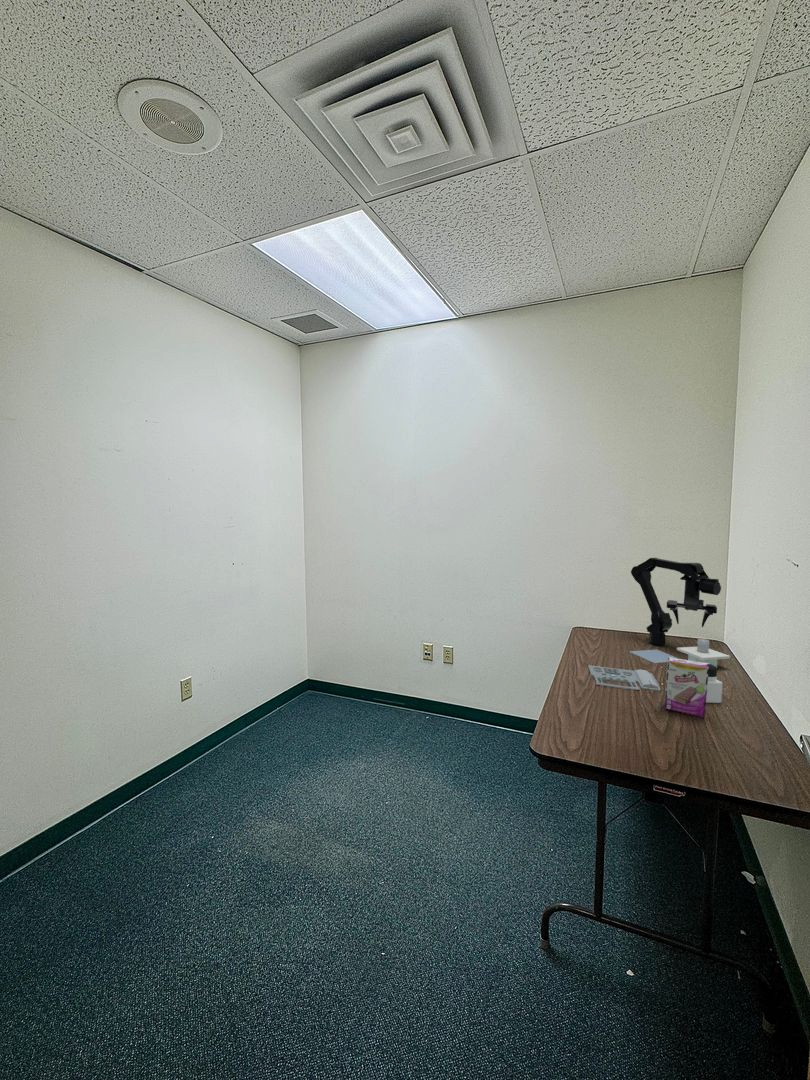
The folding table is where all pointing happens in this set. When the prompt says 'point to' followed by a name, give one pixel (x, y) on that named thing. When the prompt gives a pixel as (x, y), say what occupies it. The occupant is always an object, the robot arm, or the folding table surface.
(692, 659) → the bowl
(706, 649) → the lid
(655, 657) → the mat
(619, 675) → the office telephone
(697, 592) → the robot arm
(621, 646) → the folding table surface
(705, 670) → the candy bar box
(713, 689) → the medicine bottle
